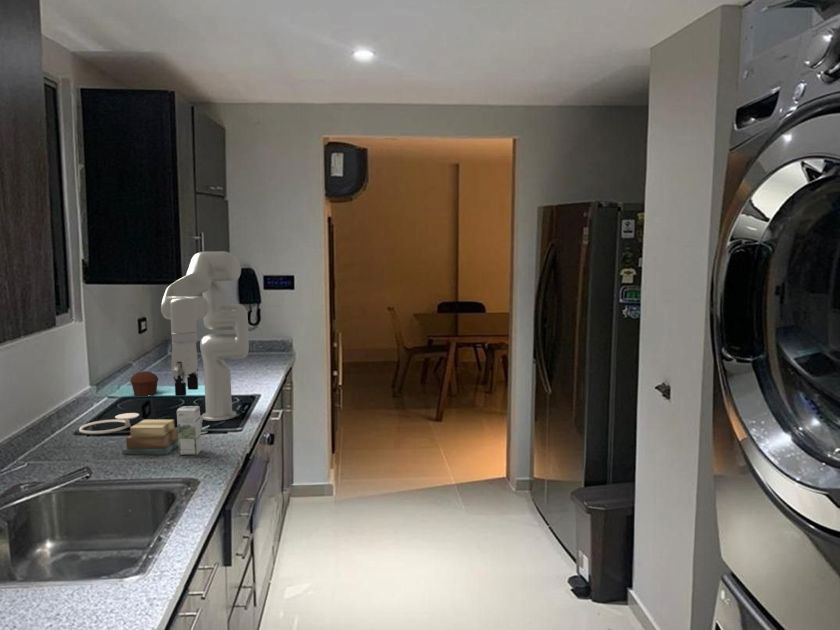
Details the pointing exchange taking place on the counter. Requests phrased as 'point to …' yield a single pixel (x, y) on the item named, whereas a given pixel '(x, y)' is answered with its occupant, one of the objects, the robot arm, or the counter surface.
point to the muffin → (144, 383)
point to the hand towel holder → (122, 418)
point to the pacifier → (203, 427)
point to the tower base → (152, 437)
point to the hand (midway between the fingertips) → (187, 392)
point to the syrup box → (189, 430)
